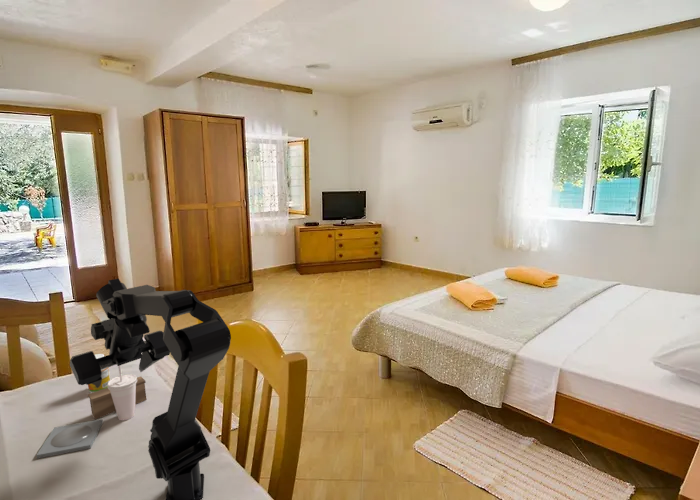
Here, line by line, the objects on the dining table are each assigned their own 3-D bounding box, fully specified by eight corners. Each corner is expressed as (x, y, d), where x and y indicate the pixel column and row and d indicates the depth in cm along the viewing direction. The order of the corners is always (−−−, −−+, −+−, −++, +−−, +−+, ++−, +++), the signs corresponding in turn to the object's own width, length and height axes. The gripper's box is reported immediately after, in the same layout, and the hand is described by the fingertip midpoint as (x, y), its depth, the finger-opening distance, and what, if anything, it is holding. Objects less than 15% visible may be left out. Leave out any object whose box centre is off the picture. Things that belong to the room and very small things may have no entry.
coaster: (90, 448, 88) (90, 444, 88) (37, 458, 85) (36, 454, 85) (103, 422, 97) (102, 418, 97) (55, 430, 94) (54, 426, 94)
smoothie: (108, 425, 96) (101, 372, 93) (116, 410, 102) (109, 360, 99) (137, 421, 97) (131, 368, 95) (143, 406, 103) (137, 356, 101)
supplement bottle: (90, 386, 114) (86, 354, 112) (112, 382, 116) (108, 351, 114) (87, 395, 109) (82, 362, 107) (110, 391, 111) (105, 358, 109)
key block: (147, 399, 107) (145, 380, 105) (94, 420, 98) (91, 399, 97) (143, 395, 109) (140, 376, 108) (90, 414, 100) (87, 394, 99)
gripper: (156, 296, 93) (146, 339, 101) (62, 318, 79) (59, 366, 87) (178, 331, 89) (166, 372, 96) (81, 361, 75) (76, 406, 83)
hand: (119, 377), depth 91 cm, fingers open, 9 cm apart
